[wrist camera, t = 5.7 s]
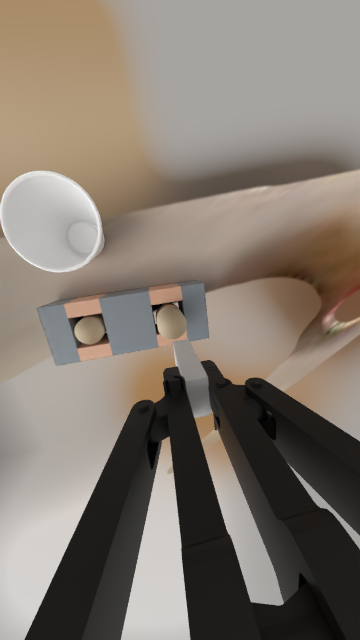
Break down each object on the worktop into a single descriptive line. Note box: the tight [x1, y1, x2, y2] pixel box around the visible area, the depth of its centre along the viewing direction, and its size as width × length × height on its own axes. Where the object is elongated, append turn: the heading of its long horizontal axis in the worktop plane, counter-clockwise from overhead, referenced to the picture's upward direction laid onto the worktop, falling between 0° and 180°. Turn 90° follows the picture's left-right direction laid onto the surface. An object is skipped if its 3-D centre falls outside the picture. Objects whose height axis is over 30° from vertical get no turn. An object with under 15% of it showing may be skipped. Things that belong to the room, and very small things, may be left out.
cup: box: [0, 170, 105, 273], centre depth 26 cm, size 10×10×11 cm
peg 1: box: [74, 313, 106, 344], centre depth 32 cm, size 4×4×6 cm
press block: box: [36, 280, 209, 366], centre depth 33 cm, size 24×9×6 cm, turn 97°
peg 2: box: [156, 303, 187, 339], centre depth 29 cm, size 4×4×6 cm
